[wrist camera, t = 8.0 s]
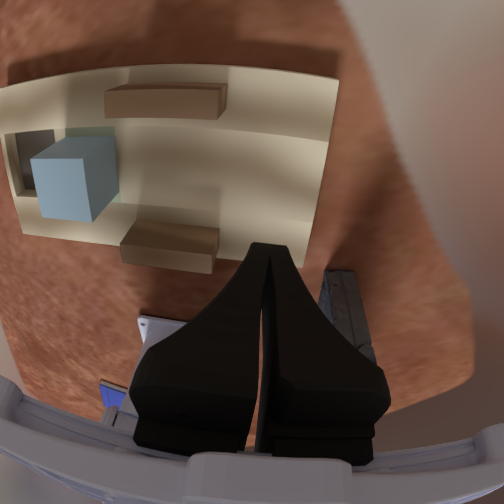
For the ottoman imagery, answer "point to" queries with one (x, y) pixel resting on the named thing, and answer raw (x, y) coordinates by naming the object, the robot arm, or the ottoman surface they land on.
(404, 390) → the ottoman surface
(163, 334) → the robot arm
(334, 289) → the vhs cassette tape
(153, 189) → the cream flat tray
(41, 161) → the blue block
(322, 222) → the ottoman surface
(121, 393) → the blue book
